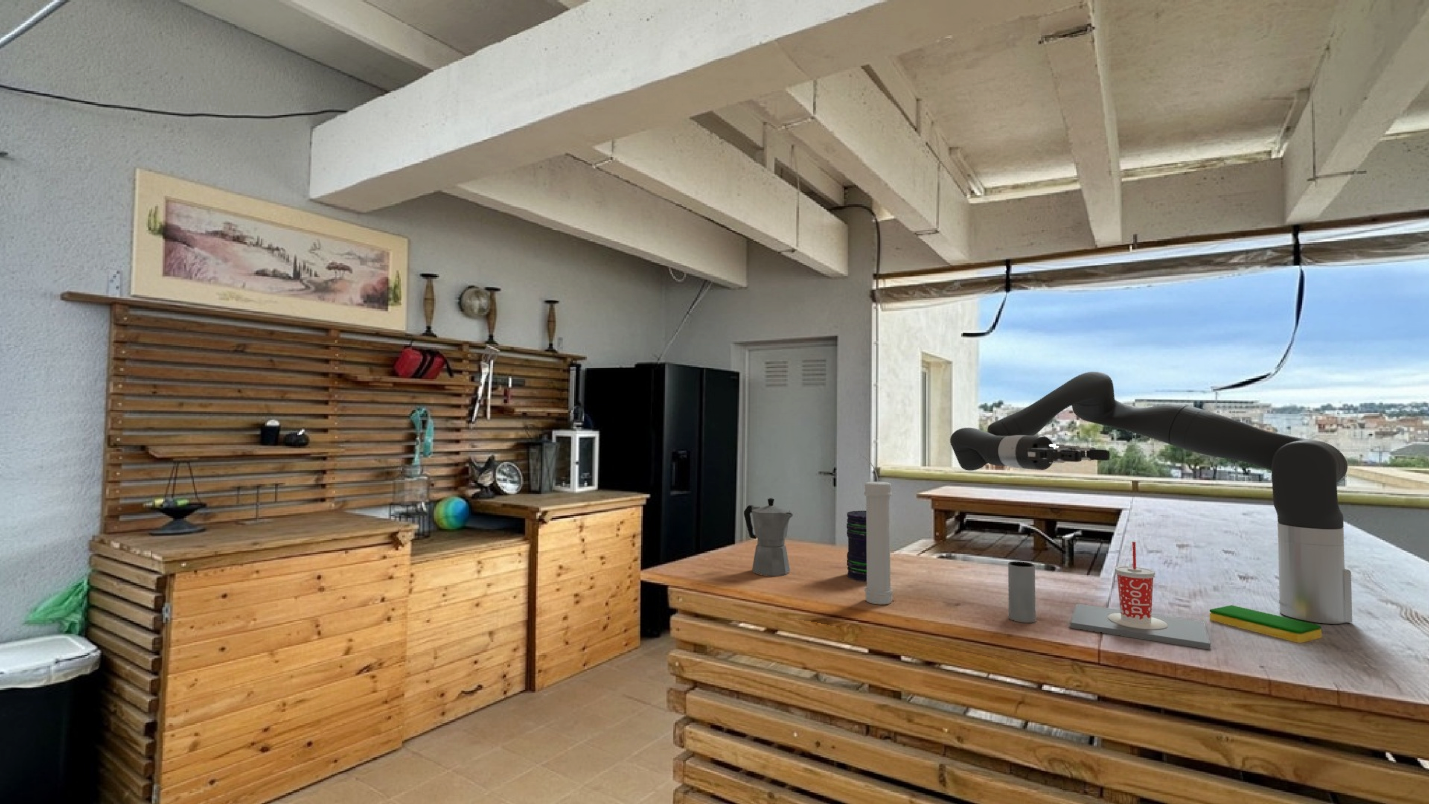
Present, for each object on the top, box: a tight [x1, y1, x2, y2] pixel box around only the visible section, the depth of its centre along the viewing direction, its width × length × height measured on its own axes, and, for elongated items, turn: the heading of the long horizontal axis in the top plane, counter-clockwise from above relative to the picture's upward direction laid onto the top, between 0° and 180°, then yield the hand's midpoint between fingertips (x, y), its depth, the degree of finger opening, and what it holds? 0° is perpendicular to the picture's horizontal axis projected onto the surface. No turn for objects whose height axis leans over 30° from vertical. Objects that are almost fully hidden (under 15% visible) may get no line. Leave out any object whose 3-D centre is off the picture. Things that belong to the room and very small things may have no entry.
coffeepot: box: [743, 497, 794, 577], centre depth 160 cm, size 15×9×18 cm, turn 44°
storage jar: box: [846, 510, 867, 583], centre depth 154 cm, size 10×10×15 cm
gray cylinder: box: [1007, 560, 1037, 624], centre depth 121 cm, size 4×4×10 cm
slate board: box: [1069, 603, 1212, 651], centre depth 117 cm, size 20×14×1 cm
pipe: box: [860, 454, 893, 606], centre depth 133 cm, size 6×6×30 cm
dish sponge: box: [1209, 605, 1323, 644], centre depth 116 cm, size 7×14×2 cm, turn 24°
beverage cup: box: [1114, 541, 1156, 624], centre depth 117 cm, size 6×6×14 cm
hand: (1094, 455), depth 131 cm, fingers open, 8 cm apart
